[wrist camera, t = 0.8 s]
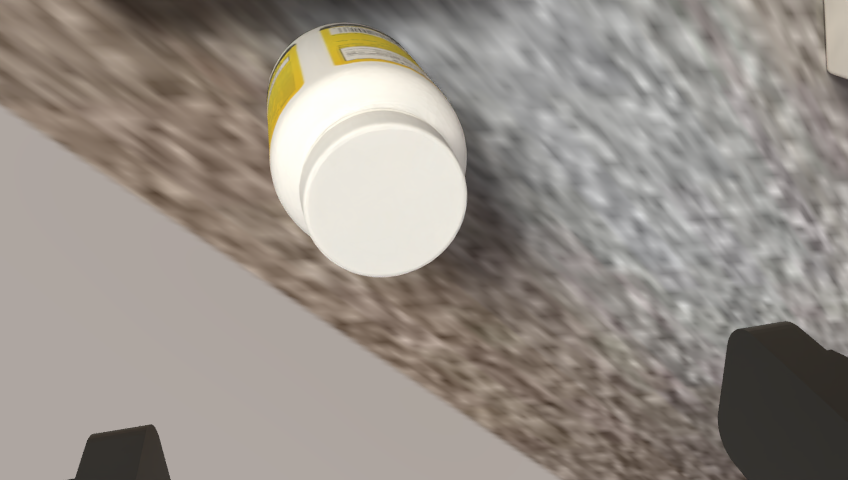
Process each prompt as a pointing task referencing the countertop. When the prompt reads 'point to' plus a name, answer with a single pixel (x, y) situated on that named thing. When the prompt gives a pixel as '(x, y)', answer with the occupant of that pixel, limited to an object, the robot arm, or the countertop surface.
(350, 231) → the supplement bottle
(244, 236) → the countertop surface
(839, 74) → the jar
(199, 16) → the countertop surface
